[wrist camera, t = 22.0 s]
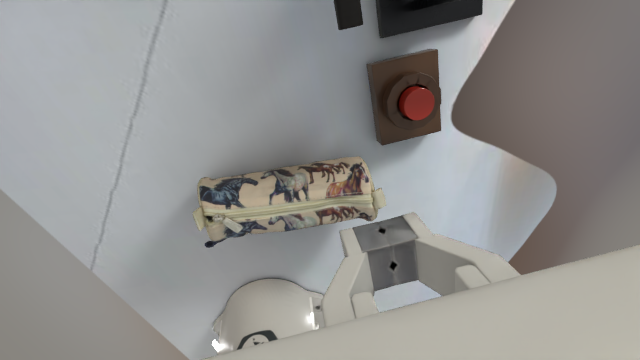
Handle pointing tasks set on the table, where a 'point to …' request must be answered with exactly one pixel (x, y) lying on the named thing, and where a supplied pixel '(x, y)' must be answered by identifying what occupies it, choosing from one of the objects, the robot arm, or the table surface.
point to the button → (416, 103)
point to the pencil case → (287, 199)
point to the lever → (348, 13)
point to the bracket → (422, 14)
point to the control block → (388, 87)
